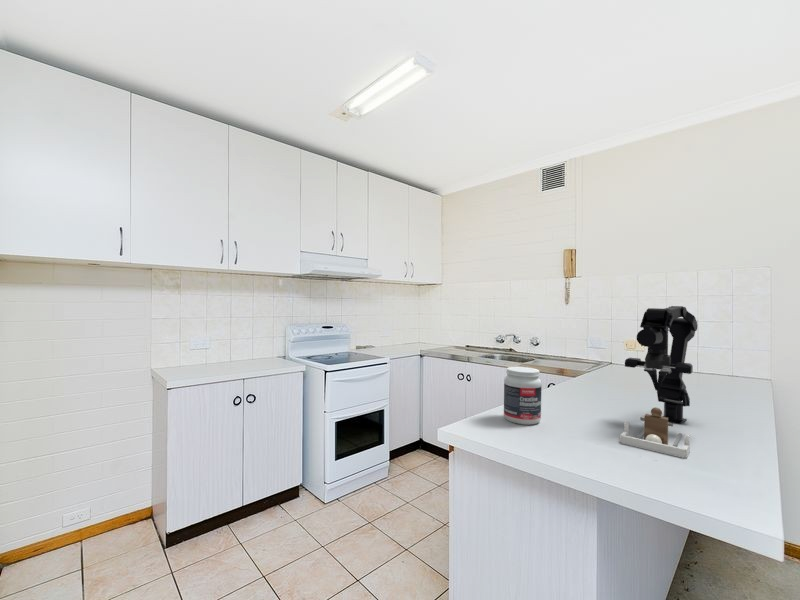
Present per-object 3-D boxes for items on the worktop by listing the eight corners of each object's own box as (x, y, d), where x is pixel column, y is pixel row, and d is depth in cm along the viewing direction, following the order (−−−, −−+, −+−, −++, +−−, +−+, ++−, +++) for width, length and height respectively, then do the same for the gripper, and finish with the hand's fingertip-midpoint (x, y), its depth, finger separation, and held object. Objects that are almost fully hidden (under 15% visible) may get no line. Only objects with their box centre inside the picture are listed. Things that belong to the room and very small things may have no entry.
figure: (641, 438, 116) (641, 404, 116) (673, 445, 111) (673, 409, 111) (638, 441, 114) (639, 406, 114) (671, 449, 108) (671, 411, 108)
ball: (645, 436, 109) (645, 449, 109) (662, 439, 107) (662, 452, 107) (645, 430, 112) (645, 443, 113) (661, 433, 110) (661, 445, 110)
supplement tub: (527, 428, 127) (528, 374, 127) (496, 418, 137) (497, 368, 137) (548, 421, 135) (549, 370, 135) (517, 412, 145) (517, 365, 145)
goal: (624, 438, 118) (624, 421, 118) (689, 452, 107) (690, 435, 107) (619, 443, 113) (619, 426, 113) (687, 459, 102) (687, 441, 102)
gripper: (621, 344, 130) (620, 389, 130) (689, 349, 117) (688, 399, 117) (628, 342, 138) (628, 384, 138) (693, 346, 125) (692, 393, 125)
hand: (657, 390), depth 129 cm, fingers closed
